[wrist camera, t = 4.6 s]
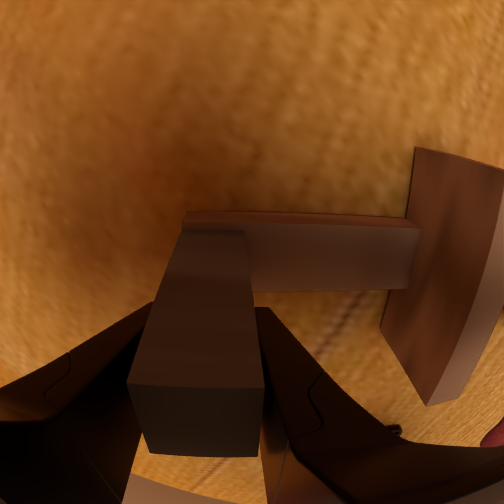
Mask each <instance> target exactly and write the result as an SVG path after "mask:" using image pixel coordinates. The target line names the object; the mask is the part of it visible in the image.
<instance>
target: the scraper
mask: <svg viewBox="0 0 504 504" xmlns="http://www.w3.org/2000/svg"><path fill="white" fill-rule="evenodd" d="M384 289H391V291H390V295H389V299H388V302H387V306H386V310H385V314H384V317H383V321H382V324H381V328H380V331H381V333H382V334H383V336H384V338H385V339H386V341H387V342H388V344H389V346H390V347H391V349H392V351H393V352H394V354H395V355H396V357H397V359H398V360H399V362H400V364H401V365H402V367H403V369H404V370H405V372H406V374H407V375H408V377H409V379H410V380H411V382H412V384H413V386H414V387H415V389H416V391H417V392H418V394H419V396H420V398H421V399H422V401H423V403H424V405H425V406H426V407H427V406H431V405H435V404H439V403H442V402H446V401H450V400H453V399H457V398H459V396H460V394H461V393H462V391H463V389H464V387H465V386H466V384H467V382H468V380H469V378H470V377H471V375H472V373H473V371H474V369H475V367H476V365H477V363H478V361H479V359H480V357H481V355H482V353H483V351H484V349H485V347H486V345H487V343H488V340H489V338H490V336H491V334H492V332H493V329H494V327H495V325H496V322H497V320H498V318H499V315H500V313H501V310H502V308H503V305H504V169H501V168H498V167H495V166H491V165H488V164H485V163H482V162H478V161H475V160H471V159H468V158H464V157H460V156H457V155H453V154H449V153H444V152H440V151H435V150H430V149H424V148H419V147H416V151H415V160H414V169H413V176H412V184H411V191H410V197H409V204H408V210H407V216H406V218H390V217H372V216H352V215H330V214H303V213H269V212H200V211H187V212H186V214H185V216H184V219H183V221H182V231H181V234H180V236H179V238H178V241H177V243H176V246H175V248H174V251H173V253H172V256H171V258H170V261H169V263H168V266H167V269H166V271H165V274H164V276H163V279H162V282H161V284H160V287H159V290H158V292H157V295H156V298H155V300H154V303H153V306H152V308H151V311H150V314H149V317H148V320H147V322H146V325H145V328H144V331H143V334H142V337H141V340H140V342H139V345H138V348H137V351H136V354H135V357H134V360H133V363H132V366H131V369H130V373H129V376H128V379H127V382H126V384H127V387H128V391H129V394H130V397H131V400H132V403H133V406H134V410H135V413H136V416H137V419H138V421H139V424H140V427H141V430H142V433H143V436H144V438H145V441H146V444H147V446H148V449H149V452H150V453H154V454H165V455H178V456H195V457H258V449H259V440H260V431H261V421H262V411H263V401H264V391H265V385H264V377H263V370H262V362H261V355H260V347H259V339H258V332H257V324H256V316H255V309H254V301H253V293H252V292H300V291H352V290H384Z"/></svg>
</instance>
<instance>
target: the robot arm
mask: <svg viewBox="0 0 504 504" xmlns="http://www.w3.org/2000/svg"><path fill="white" fill-rule="evenodd" d="M153 303H154V302H150V303H148V304H146V305H145V306H143V307H141V308H140V309H138V310H136V311H135V312H133V313H131V314H130V315H128V316H126V317H125V318H123V319H121V320H120V321H118V322H117V323H115V324H113V325H112V326H110V327H108V328H107V329H105V330H103V331H102V332H100V333H98V334H97V335H95V336H93V337H92V338H90V339H88V340H87V341H85V342H83V343H82V344H80V345H78V346H77V347H75V348H74V349H72V350H70V351H69V352H67V353H65V354H64V355H62V356H60V357H59V358H57V359H55V360H54V361H52V362H50V363H48V364H47V365H45V366H43V367H41V368H39V369H37V370H35V371H33V372H31V373H30V374H28V375H25V376H23V377H21V378H19V379H17V380H15V381H13V382H11V383H9V384H7V385H5V386H3V387H1V388H0V504H122V503H121V502H122V500H123V497H124V493H125V490H126V486H127V482H128V479H129V475H130V472H131V468H132V465H133V461H134V458H135V455H136V451H137V448H138V444H139V441H140V438H141V434H142V430H141V427H140V424H139V421H138V419H137V416H136V413H135V410H134V406H133V403H132V400H131V397H130V394H129V391H128V387H127V384H126V382H127V379H128V376H129V373H130V369H131V366H132V363H133V360H134V357H135V354H136V351H137V348H138V345H139V342H140V340H141V337H142V334H143V331H144V328H145V325H146V322H147V320H148V317H149V314H150V311H151V308H152V306H153ZM254 309H255V316H256V324H257V332H258V339H259V347H260V355H261V362H262V370H263V377H264V385H265V391H264V401H263V411H262V421H261V431H260V440H259V443H260V450H261V458H262V466H263V473H264V481H265V488H266V495H267V503H268V504H504V445H503V446H495V447H462V446H446V445H434V444H423V443H415V442H411V441H408V440H405V439H403V438H401V437H400V435H401V433H402V429H401V427H400V426H394V427H386V426H384V425H383V424H382V423H381V422H379V421H378V420H377V419H376V418H375V417H373V416H372V415H371V414H370V413H369V412H367V411H366V410H365V409H364V408H363V407H361V406H360V405H359V404H358V403H357V402H356V401H354V400H353V399H352V398H351V397H350V396H349V395H348V394H347V393H346V392H344V391H343V390H342V388H341V387H340V386H339V385H338V384H337V383H336V382H335V381H334V380H333V379H332V378H331V377H330V376H329V375H328V374H327V372H324V369H323V368H322V367H321V366H320V365H319V364H318V363H317V361H316V360H315V359H314V358H313V357H312V356H311V355H310V354H309V352H308V351H307V350H306V349H305V348H304V347H303V346H302V345H301V343H300V342H299V341H298V340H297V339H296V338H295V337H294V335H293V334H292V333H291V332H290V331H289V330H288V329H287V328H286V326H285V325H284V324H283V323H282V322H281V321H280V320H279V318H278V317H277V316H276V315H275V314H274V313H273V311H272V310H271V309H270V308H269V307H255V308H254Z"/></svg>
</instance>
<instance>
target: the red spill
mask: <svg viewBox="0 0 504 504" xmlns="http://www.w3.org/2000/svg"><path fill="white" fill-rule="evenodd" d="M503 445H504V417H503V418H502V420H501V421H500V422H499V423H498V424H497V425H496V426H495V427H494V428H492V429H491V430H490V431H489V432H488V433H487V434H486V435H485V437H484V438H483V439H482V441H481V443H480V446H481V447H495V446H503Z"/></svg>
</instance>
